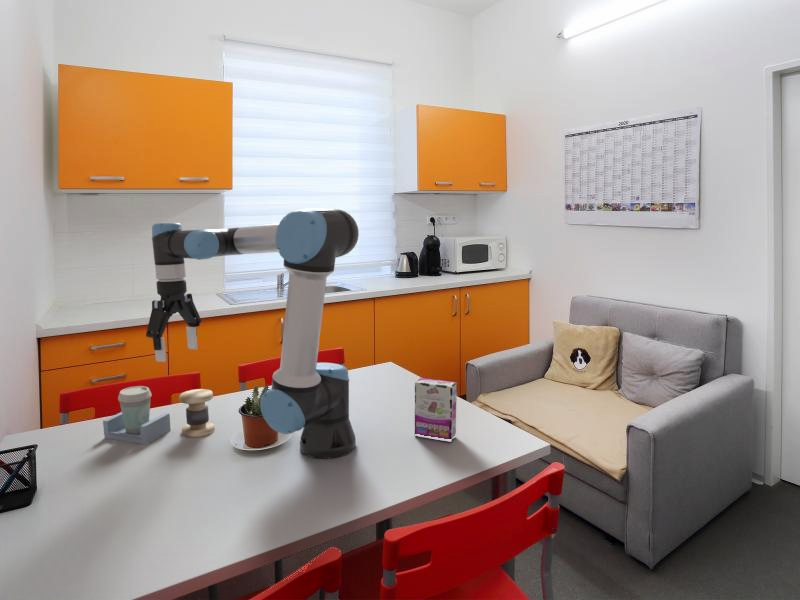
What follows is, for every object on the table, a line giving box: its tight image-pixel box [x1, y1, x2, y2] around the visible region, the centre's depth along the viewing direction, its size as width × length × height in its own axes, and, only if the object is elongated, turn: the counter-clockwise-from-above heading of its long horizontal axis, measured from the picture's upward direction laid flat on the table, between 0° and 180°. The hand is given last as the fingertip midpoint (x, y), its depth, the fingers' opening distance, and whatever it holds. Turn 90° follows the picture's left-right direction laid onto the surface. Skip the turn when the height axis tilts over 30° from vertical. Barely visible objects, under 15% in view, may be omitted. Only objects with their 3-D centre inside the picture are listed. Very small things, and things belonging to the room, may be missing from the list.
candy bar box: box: [414, 377, 458, 439], centre depth 154 cm, size 11×5×16 cm, turn 68°
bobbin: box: [178, 388, 216, 439], centre depth 157 cm, size 9×9×11 cm
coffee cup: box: [117, 385, 153, 435], centre depth 154 cm, size 8×8×12 cm
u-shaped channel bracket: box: [102, 411, 171, 445], centre depth 155 cm, size 10×14×5 cm
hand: (177, 354), depth 152 cm, fingers open, 13 cm apart
